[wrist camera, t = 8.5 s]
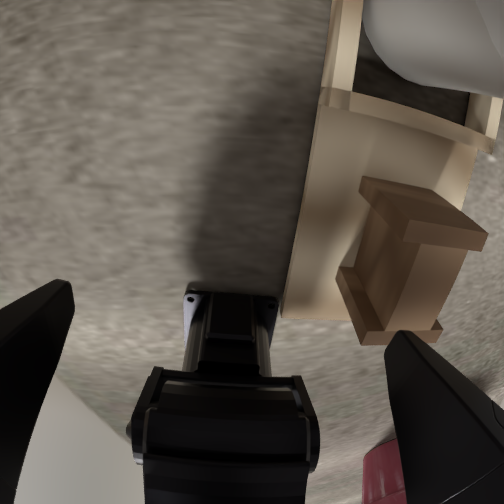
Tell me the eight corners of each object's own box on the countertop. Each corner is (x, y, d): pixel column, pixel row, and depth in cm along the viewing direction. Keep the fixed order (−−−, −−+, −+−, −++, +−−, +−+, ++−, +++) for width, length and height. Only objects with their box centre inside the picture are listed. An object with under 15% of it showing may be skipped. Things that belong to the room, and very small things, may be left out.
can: (457, -9, 11) (600, -25, 1) (461, 94, 15) (615, 143, 5) (350, -38, 11) (470, -130, 1) (357, 77, 15) (516, 93, 5)
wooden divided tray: (411, 314, 23) (445, 376, 18) (280, 310, 23) (290, 387, 17) (488, 3, 11) (557, -2, 5) (338, -62, 10) (380, -114, 4)
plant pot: (367, 434, 34) (388, 519, 23) (448, 419, 35) (475, 488, 24) (335, 473, 41) (345, 539, 30) (407, 460, 42) (423, 519, 31)
